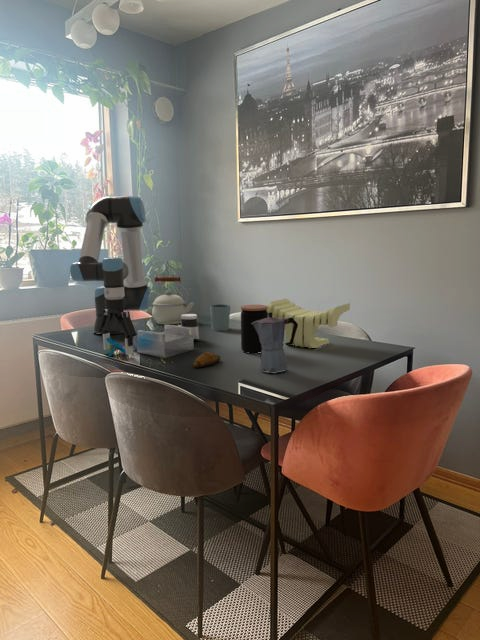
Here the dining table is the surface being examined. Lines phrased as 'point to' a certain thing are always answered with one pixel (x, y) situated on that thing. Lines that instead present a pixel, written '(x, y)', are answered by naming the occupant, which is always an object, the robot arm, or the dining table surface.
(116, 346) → the blue irregular piece
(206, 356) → the croissant
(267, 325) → the moka pot
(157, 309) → the kettle
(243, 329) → the coffee jar
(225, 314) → the teal tumbler cup
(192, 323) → the spread jar
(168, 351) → the storage box
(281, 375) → the dining table surface
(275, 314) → the beige slatted piece
